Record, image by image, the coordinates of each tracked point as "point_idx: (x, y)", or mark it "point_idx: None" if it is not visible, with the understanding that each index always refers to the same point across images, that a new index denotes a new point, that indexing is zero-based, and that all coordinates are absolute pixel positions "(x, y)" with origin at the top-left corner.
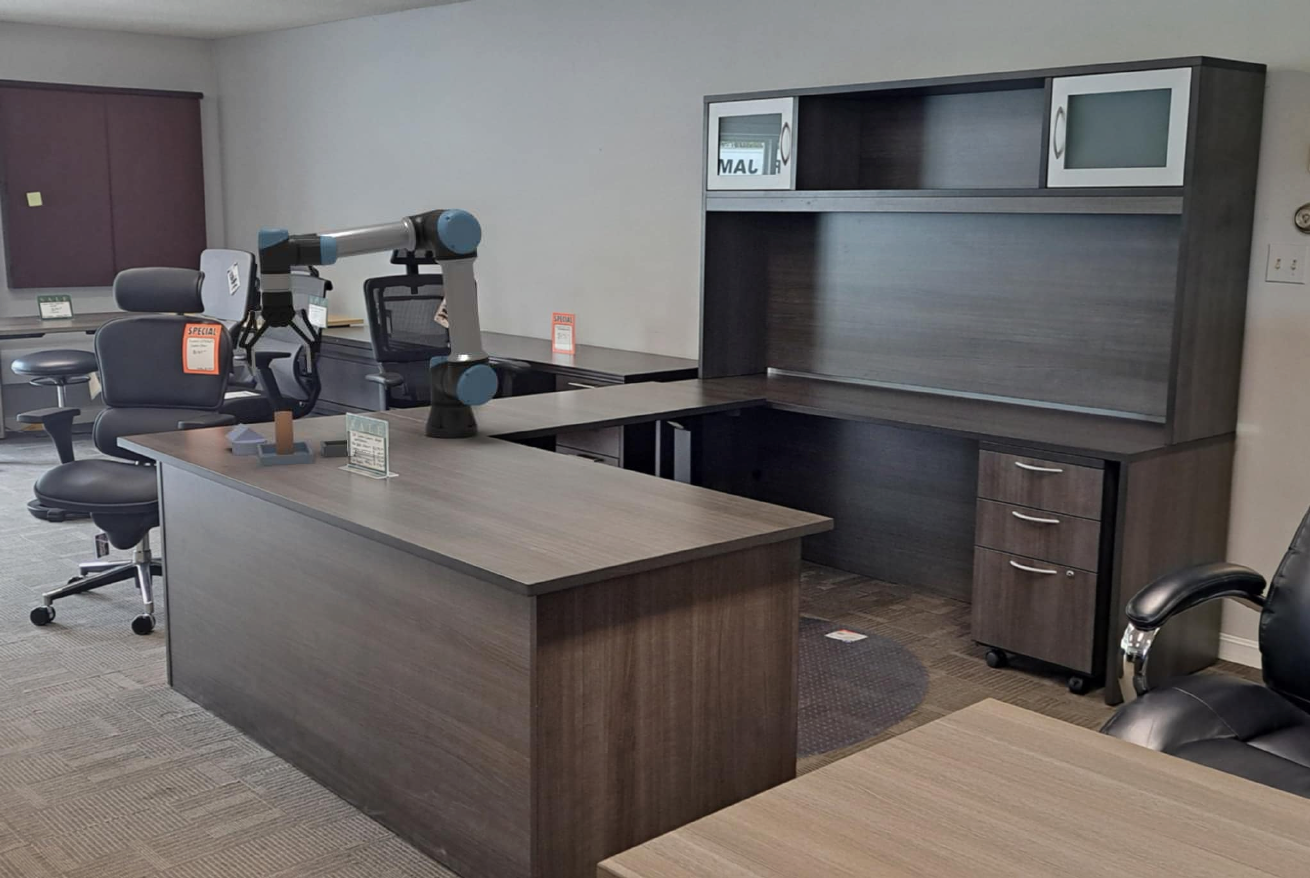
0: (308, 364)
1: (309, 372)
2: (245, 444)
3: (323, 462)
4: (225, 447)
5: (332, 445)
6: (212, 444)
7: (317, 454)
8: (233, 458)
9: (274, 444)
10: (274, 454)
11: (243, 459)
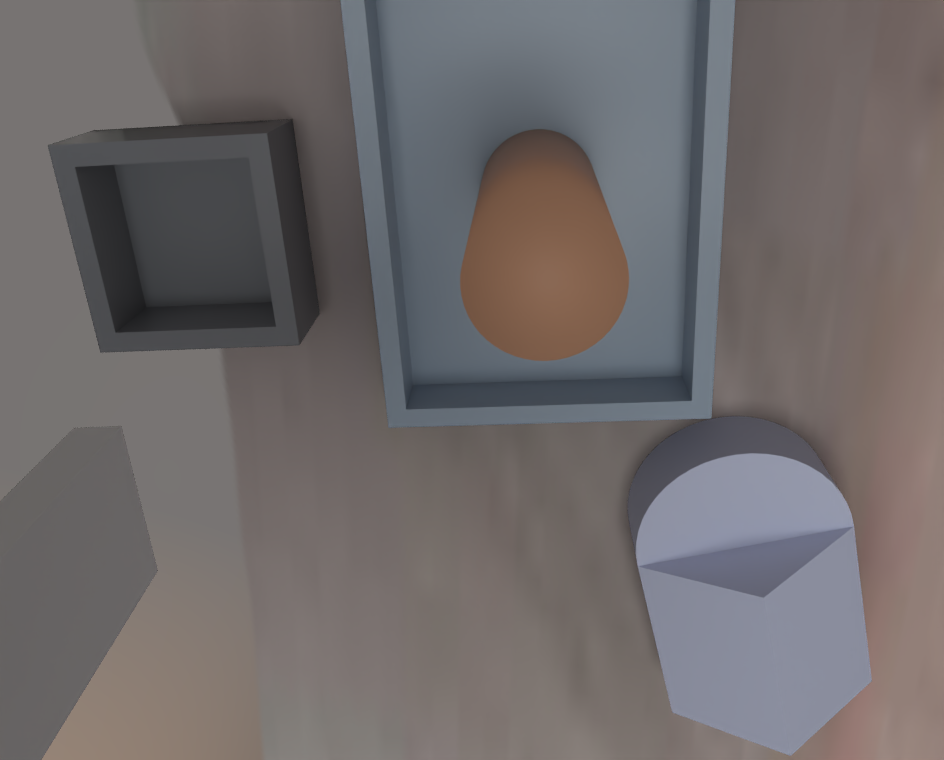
0: (43, 501)
1: (102, 427)
2: (778, 451)
3: (292, 39)
4: None
5: (205, 159)
6: (892, 748)
7: (342, 328)
8: (847, 344)
9: (599, 401)
10: None
11: (792, 295)
